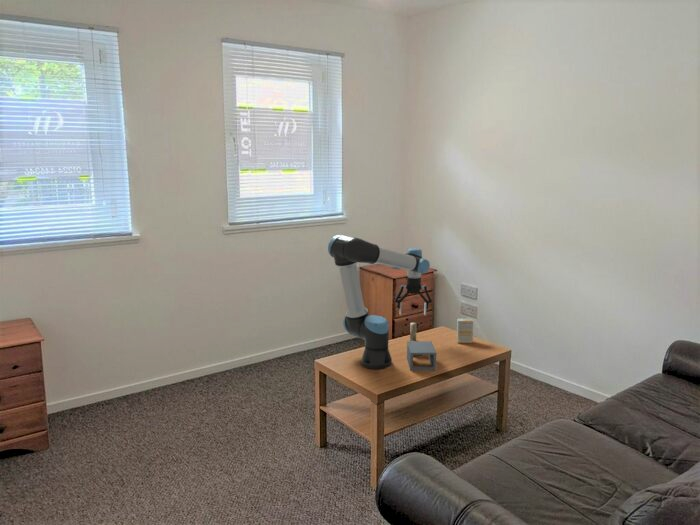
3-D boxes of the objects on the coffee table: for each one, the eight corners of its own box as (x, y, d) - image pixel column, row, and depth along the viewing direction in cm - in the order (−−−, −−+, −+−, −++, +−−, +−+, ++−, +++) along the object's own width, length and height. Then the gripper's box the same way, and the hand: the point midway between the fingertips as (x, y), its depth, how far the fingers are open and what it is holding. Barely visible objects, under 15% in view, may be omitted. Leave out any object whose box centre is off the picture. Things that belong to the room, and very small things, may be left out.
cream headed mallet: (411, 356, 284) (411, 337, 282) (407, 339, 308) (407, 322, 306) (423, 356, 284) (423, 337, 282) (418, 339, 308) (418, 322, 306)
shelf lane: (410, 370, 266) (410, 352, 264) (406, 358, 281) (407, 341, 279) (436, 370, 266) (436, 352, 264) (431, 357, 281) (431, 341, 279)
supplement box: (471, 340, 306) (472, 318, 303) (472, 343, 301) (473, 320, 298) (456, 340, 307) (457, 317, 304) (457, 343, 302) (458, 320, 299)
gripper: (391, 278, 296) (390, 316, 300) (438, 278, 296) (436, 316, 300) (390, 275, 303) (389, 312, 307) (435, 275, 304) (434, 313, 308)
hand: (412, 314), depth 304 cm, fingers open, 13 cm apart
